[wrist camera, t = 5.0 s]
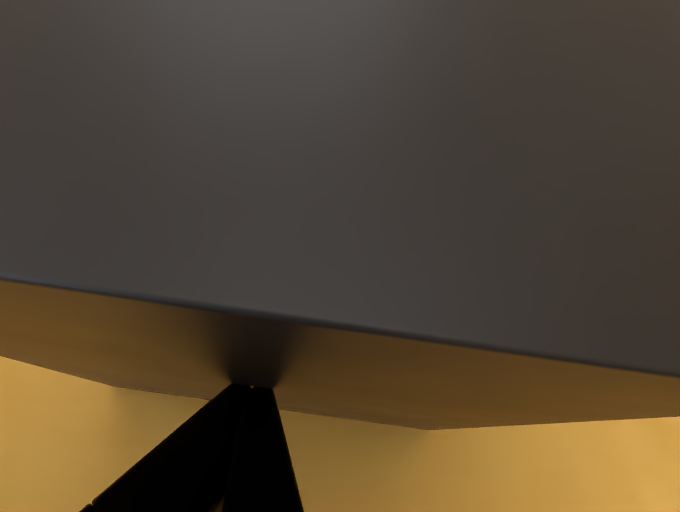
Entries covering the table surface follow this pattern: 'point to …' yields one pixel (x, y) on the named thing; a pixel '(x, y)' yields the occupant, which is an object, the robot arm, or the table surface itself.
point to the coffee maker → (348, 203)
